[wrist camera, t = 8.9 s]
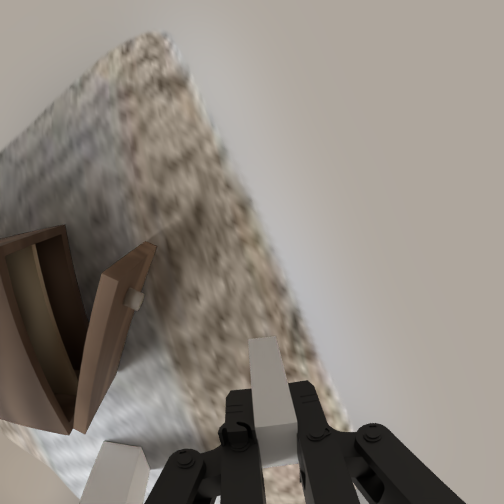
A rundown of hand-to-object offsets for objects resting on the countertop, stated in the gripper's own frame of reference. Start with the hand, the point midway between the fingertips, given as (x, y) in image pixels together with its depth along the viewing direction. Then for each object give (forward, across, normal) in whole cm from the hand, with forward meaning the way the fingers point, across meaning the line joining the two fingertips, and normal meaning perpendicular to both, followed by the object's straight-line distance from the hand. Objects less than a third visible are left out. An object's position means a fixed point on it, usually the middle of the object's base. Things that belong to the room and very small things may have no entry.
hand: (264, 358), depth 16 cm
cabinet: (+13, -25, 0) cm, 28 cm away
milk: (+13, -21, -25) cm, 35 cm away
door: (+12, -12, -3) cm, 18 cm away
